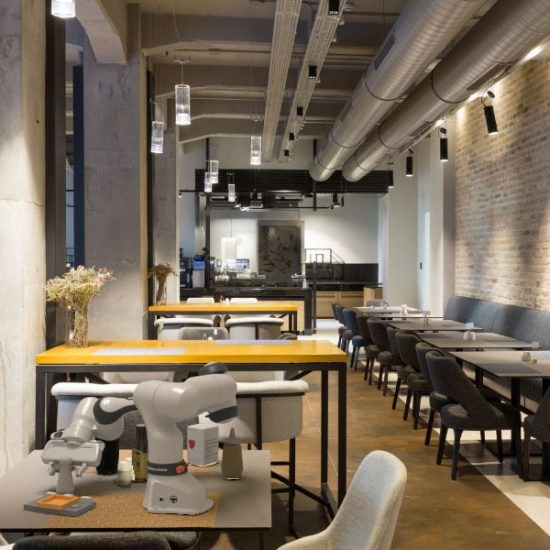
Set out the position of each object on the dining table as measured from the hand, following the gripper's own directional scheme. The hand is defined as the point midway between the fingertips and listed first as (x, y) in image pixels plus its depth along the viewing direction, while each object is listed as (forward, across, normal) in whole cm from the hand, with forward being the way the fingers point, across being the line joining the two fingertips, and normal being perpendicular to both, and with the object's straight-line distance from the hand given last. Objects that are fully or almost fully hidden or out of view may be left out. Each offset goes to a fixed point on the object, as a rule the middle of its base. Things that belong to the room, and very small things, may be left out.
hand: (64, 475), depth 250 cm
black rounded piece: (-18, +17, -28) cm, 38 cm away
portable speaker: (-17, -1, -28) cm, 33 cm away
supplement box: (-32, -32, -42) cm, 61 cm away
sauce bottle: (-12, -17, -22) cm, 30 cm away
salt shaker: (+5, 0, -5) cm, 7 cm away
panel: (+13, -4, +4) cm, 14 cm away
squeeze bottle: (-19, -48, -29) cm, 59 cm away
